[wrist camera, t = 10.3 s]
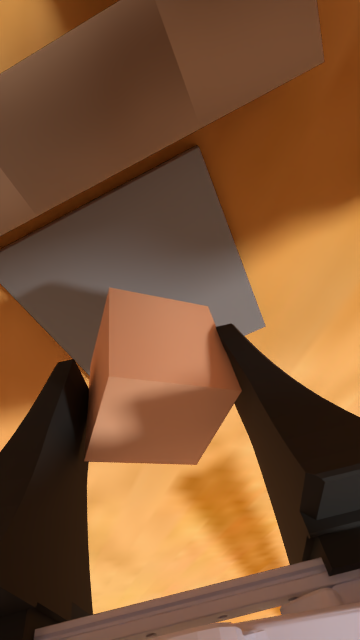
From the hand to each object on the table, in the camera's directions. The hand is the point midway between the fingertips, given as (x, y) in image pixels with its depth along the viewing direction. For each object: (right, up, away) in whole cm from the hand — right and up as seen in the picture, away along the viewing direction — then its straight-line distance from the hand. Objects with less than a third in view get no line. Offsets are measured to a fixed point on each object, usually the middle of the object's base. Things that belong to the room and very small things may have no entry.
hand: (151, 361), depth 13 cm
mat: (-1, +3, +4) cm, 5 cm away
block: (0, +1, +1) cm, 2 cm away
